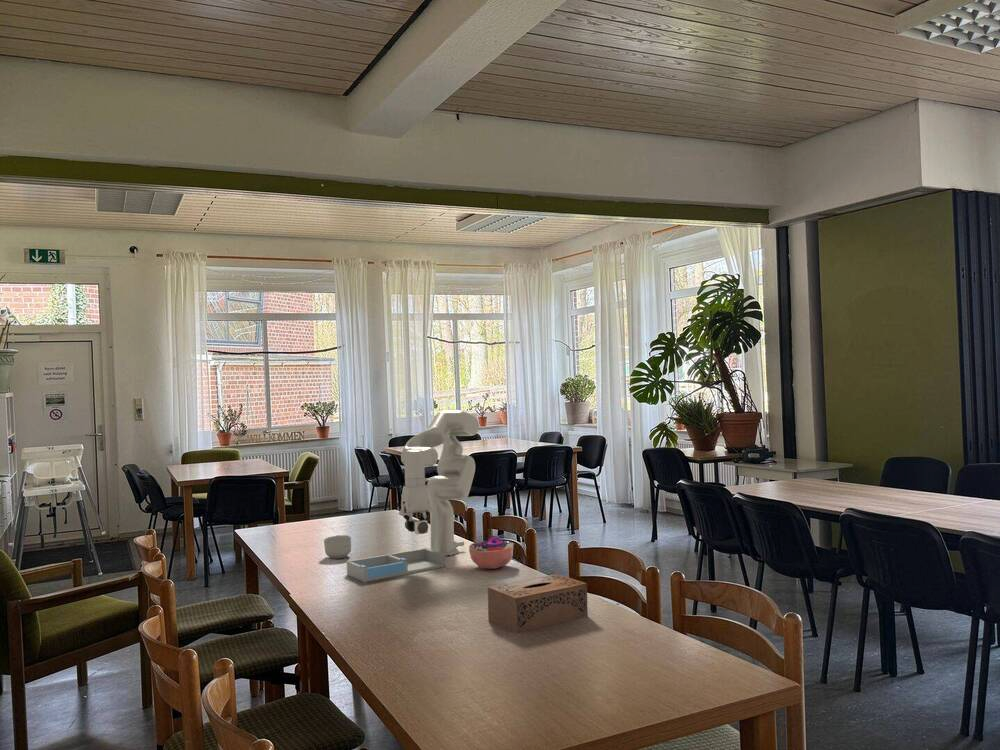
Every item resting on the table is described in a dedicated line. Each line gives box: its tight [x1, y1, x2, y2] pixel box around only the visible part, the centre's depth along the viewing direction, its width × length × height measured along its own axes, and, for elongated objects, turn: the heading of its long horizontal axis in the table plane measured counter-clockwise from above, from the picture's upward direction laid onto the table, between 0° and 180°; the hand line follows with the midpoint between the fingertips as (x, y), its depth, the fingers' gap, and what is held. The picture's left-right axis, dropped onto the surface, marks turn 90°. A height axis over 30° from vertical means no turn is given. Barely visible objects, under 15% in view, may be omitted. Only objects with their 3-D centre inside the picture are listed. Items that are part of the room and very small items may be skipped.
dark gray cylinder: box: [404, 518, 429, 535], centre depth 303 cm, size 10×4×4 cm, turn 36°
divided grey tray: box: [346, 547, 446, 583], centre depth 298 cm, size 34×14×5 cm, turn 126°
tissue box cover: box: [487, 573, 589, 633], centre depth 236 cm, size 26×14×10 cm, turn 123°
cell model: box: [468, 535, 514, 570], centre depth 300 cm, size 17×20×11 cm
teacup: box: [323, 534, 352, 560], centre depth 325 cm, size 14×11×8 cm
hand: (416, 529), depth 303 cm, fingers closed on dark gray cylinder, 4 cm apart
